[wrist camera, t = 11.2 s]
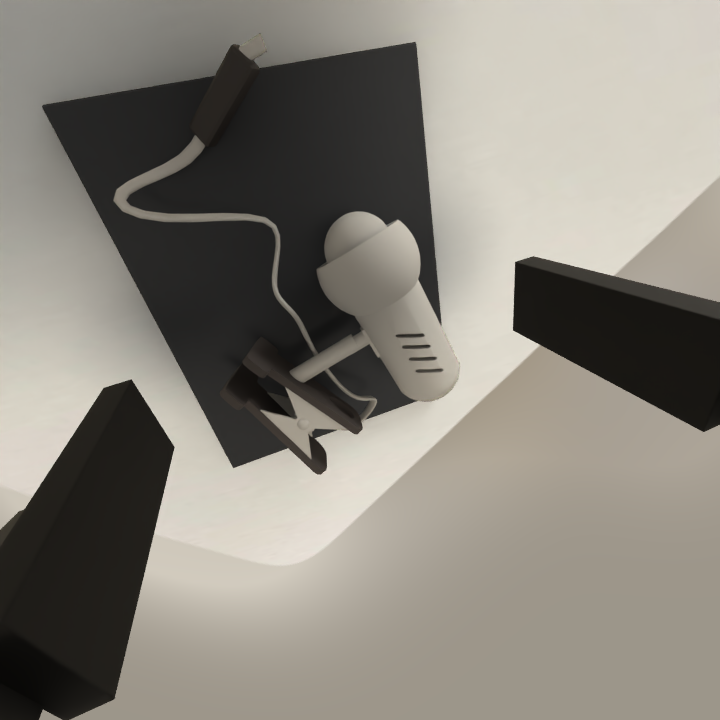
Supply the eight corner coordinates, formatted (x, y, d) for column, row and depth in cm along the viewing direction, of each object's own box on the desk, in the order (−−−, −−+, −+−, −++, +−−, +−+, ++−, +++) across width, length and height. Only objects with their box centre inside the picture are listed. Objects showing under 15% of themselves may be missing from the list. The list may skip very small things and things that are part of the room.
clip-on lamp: (108, 189, 17) (306, 450, 23) (-6, 156, 11) (301, 522, 17) (308, 56, 17) (462, 360, 22) (300, -55, 11) (515, 401, 16)
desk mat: (47, 108, 14) (40, 104, 13) (411, 45, 17) (416, 41, 16) (233, 462, 24) (233, 468, 23) (443, 386, 26) (447, 390, 26)
